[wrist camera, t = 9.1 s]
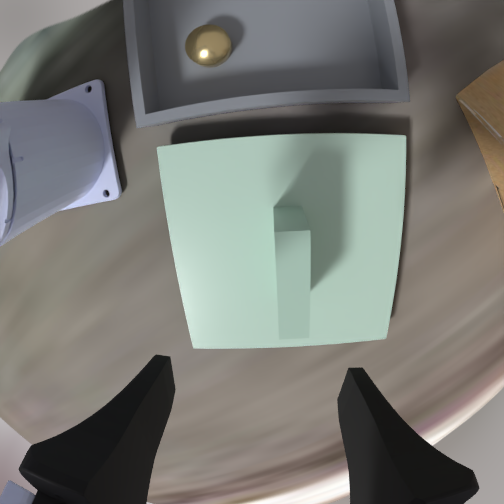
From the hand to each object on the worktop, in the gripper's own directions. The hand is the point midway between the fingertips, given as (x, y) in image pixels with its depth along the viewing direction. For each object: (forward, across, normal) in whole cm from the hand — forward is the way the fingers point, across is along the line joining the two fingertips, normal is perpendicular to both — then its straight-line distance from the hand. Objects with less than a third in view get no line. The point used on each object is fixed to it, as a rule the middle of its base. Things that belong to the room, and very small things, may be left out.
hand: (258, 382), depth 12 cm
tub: (+10, +1, -17) cm, 20 cm away
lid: (+9, -1, -2) cm, 9 cm away
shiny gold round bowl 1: (+9, +4, -14) cm, 17 cm away
